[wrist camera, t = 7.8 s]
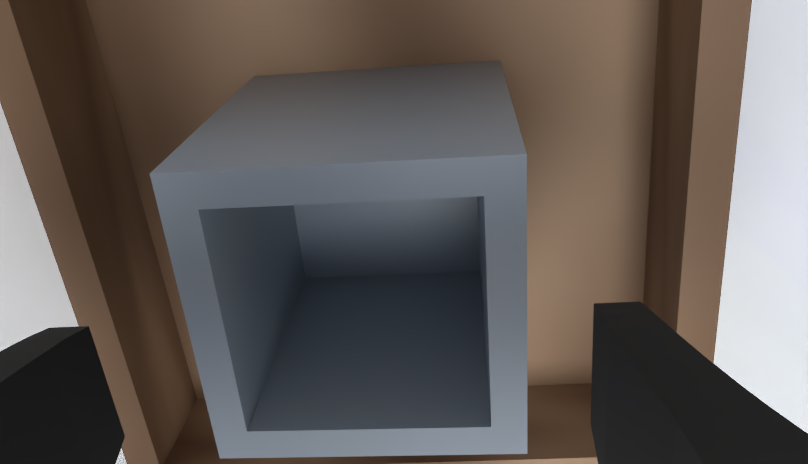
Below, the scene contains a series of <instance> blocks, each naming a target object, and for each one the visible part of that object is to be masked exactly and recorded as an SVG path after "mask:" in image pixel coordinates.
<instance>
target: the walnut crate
mask: <svg viewBox="0 0 808 464" xmlns="http://www.w3.org/2000/svg"><path fill="white" fill-rule="evenodd" d="M751 3H752V0H0V102H1V105H2V108H3V111H4V114H5V116H6V119H7V122H8V125H9V128H10V131H11V134H12V136H13V139H14V142H15V145H16V148H17V151H18V154H19V156H20V159H21V162H22V165H23V168H24V171H25V173H26V176H27V179H28V182H29V185H30V188H31V191H32V193H33V196H34V199H35V202H36V205H37V208H38V211H39V213H40V216H41V219H42V222H43V225H44V228H45V231H46V233H47V236H48V239H49V242H50V245H51V248H52V251H53V253H54V256H55V259H56V262H57V265H58V268H59V271H60V273H61V276H62V279H63V282H64V285H65V288H66V291H67V293H68V296H69V299H70V302H71V305H72V308H73V311H74V313H75V316H76V319H77V322H78V325H79V327H82V326H89V328H90V331H91V334H92V337H93V340H94V343H95V346H96V349H97V353H98V356H99V359H100V362H101V365H102V368H103V371H104V374H105V377H106V380H107V383H108V386H109V389H110V392H111V395H112V398H113V401H114V404H115V407H116V410H117V413H118V416H119V420H120V423H121V426H122V429H123V432H124V435H125V438H124V441H123V444H122V447H121V448H122V450H123V453H124V456H125V459H126V462H127V464H598V460H597V455H596V450H595V444H594V439H593V434H592V428H591V386H592V349H593V311H594V303H615V302H638V301H640V302H641V303H642V304H644V305H645V306H646V307H647V308H649V309H650V310H651V311H652V312H653V313H654V314H656V315H657V316H658V317H659V318H660V319H661V320H663V321H664V322H665V323H666V324H667V325H668V326H669V327H671V328H672V329H673V330H674V331H675V332H676V333H678V334H679V335H680V336H681V337H682V338H683V339H685V340H686V341H687V342H688V343H689V344H691V345H692V346H693V347H694V348H695V349H696V350H698V351H699V352H700V353H701V354H702V355H704V356H705V357H706V358H707V359H709V360H710V361H711V362H712V363H713V361H714V351H715V342H716V333H717V323H718V314H719V304H720V295H721V286H722V276H723V267H724V257H725V248H726V238H727V229H728V220H729V210H730V201H731V191H732V182H733V173H734V163H735V154H736V144H737V135H738V125H739V116H740V107H741V97H742V88H743V78H744V69H745V60H746V50H747V41H748V31H749V22H750V12H751ZM499 60H500V62H501V65H502V69H503V72H504V76H505V79H506V83H507V86H508V90H509V93H510V97H511V100H512V104H513V107H514V111H515V114H516V118H517V121H518V125H519V128H520V132H521V135H522V139H523V142H524V146H525V149H526V153H527V454H486V455H420V456H354V457H288V458H222V459H220V457H219V453H218V449H217V445H216V441H215V437H214V433H213V429H212V425H211V421H210V417H209V413H208V409H207V405H206V401H205V397H204V392H203V388H202V384H201V380H200V376H199V372H198V368H197V364H196V360H195V356H194V352H193V348H192V344H191V340H190V336H189V332H188V328H187V323H186V319H185V315H184V311H183V307H182V303H181V299H180V295H179V291H178V287H177V283H176V279H175V275H174V271H173V267H172V263H171V259H170V254H169V250H168V246H167V242H166V238H165V234H164V230H163V226H162V222H161V218H160V214H159V210H158V206H157V202H156V198H155V194H154V190H153V185H152V181H151V177H150V173H151V172H152V171H153V170H154V169H155V168H156V167H157V166H158V165H159V164H160V163H162V162H163V161H164V160H165V159H166V158H167V157H168V156H169V155H170V154H171V153H172V152H173V151H174V150H175V149H176V148H178V147H179V146H180V145H181V144H182V143H183V142H184V141H185V140H186V139H187V138H188V137H189V136H190V135H191V134H193V133H194V132H195V131H196V130H197V129H198V128H199V127H200V126H201V125H202V124H203V123H204V122H205V121H206V120H207V119H209V118H210V117H211V116H212V115H213V114H214V113H215V112H216V111H217V110H218V109H219V108H220V107H221V106H222V105H223V104H225V103H226V102H227V101H228V100H229V99H230V98H231V97H232V96H233V95H234V94H235V93H236V92H237V91H238V90H239V89H241V88H242V87H243V86H244V85H245V84H246V83H247V82H248V81H249V80H250V79H251V78H252V77H253V76H263V75H279V74H294V73H310V72H326V71H341V70H357V69H373V68H389V67H404V66H420V65H436V64H452V63H467V62H483V61H499Z"/></svg>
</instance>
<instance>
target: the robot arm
mask: <svg viewBox="0 0 808 464" xmlns="http://www.w3.org/2000/svg"><path fill="white" fill-rule="evenodd" d="M591 428H592V434H593V439H594V444H595V450H596V455H597V460H598V464H808V434H807V433H806V432H804V431H803V430H802V429H800V428H799V427H797V426H796V425H794V424H793V423H792V422H790V421H789V420H787V419H786V418H784V417H783V416H782V415H780V414H779V413H777V412H776V411H775V410H773V409H772V408H770V407H769V406H768V405H766V404H765V403H764V402H762V401H761V400H760V399H758V398H757V397H756V396H754V395H753V394H752V393H750V392H749V391H748V390H746V389H745V388H744V387H742V386H741V385H740V384H739V383H737V382H736V381H735V380H733V379H732V378H731V377H730V376H728V375H727V374H726V373H725V372H723V371H722V370H721V369H720V368H718V367H717V366H716V365H715V364H713V363H712V362H711V361H710V360H709V359H707V358H706V357H705V356H704V355H702V354H701V353H700V352H699V351H698V350H696V349H695V348H694V347H693V346H692V345H691V344H689V343H688V342H687V341H686V340H685V339H683V338H682V337H681V336H680V335H679V334H678V333H676V332H675V331H674V330H673V329H672V328H671V327H669V326H668V325H667V324H666V323H665V322H664V321H663V320H661V319H660V318H659V317H658V316H657V315H656V314H654V313H653V312H652V311H651V310H650V309H649V308H647V307H646V306H645V305H644V304H642V303H641V302H640V301H638V302H615V303H594V311H593V349H592V386H591ZM124 438H125V435H124V432H123V429H122V426H121V423H120V420H119V416H118V413H117V410H116V407H115V404H114V401H113V398H112V395H111V392H110V389H109V386H108V383H107V380H106V377H105V374H104V371H103V368H102V365H101V362H100V359H99V356H98V353H97V349H96V346H95V343H94V340H93V337H92V334H91V331H90V328H89V326H82V327H59V328H48V329H46V330H43V331H41V332H39V333H36V334H34V335H32V336H30V337H28V338H26V339H24V340H22V341H20V342H18V343H16V344H14V345H12V346H10V347H8V348H6V349H4V350H3V351H1V352H0V464H115V463H116V460H117V457H118V455H119V452H120V449H121V447H122V444H123V441H124Z"/></svg>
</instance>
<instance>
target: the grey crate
mask: <svg viewBox="0 0 808 464" xmlns="http://www.w3.org/2000/svg"><path fill="white" fill-rule="evenodd" d="M150 177H151V181H152V185H153V190H154V194H155V198H156V202H157V206H158V210H159V214H160V218H161V222H162V226H163V230H164V234H165V238H166V242H167V246H168V250H169V254H170V259H171V263H172V267H173V271H174V275H175V279H176V283H177V287H178V291H179V295H180V299H181V303H182V307H183V311H184V315H185V319H186V323H187V328H188V332H189V336H190V340H191V344H192V348H193V352H194V356H195V360H196V364H197V368H198V372H199V376H200V380H201V384H202V388H203V392H204V397H205V401H206V405H207V409H208V413H209V417H210V421H211V425H212V429H213V433H214V437H215V441H216V445H217V449H218V453H219V457H220V459H222V458H288V457H354V456H420V455H486V454H527V153H526V149H525V146H524V142H523V139H522V135H521V132H520V128H519V125H518V121H517V118H516V114H515V111H514V107H513V104H512V100H511V97H510V93H509V90H508V86H507V83H506V79H505V76H504V72H503V69H502V65H501V62H500V60H499V61H483V62H467V63H452V64H436V65H420V66H404V67H389V68H373V69H357V70H341V71H326V72H310V73H294V74H279V75H263V76H253V77H252V78H251V79H250V80H249V81H248V82H247V83H246V84H245V85H244V86H243V87H242V88H241V89H239V90H238V91H237V92H236V93H235V94H234V95H233V96H232V97H231V98H230V99H229V100H228V101H227V102H226V103H225V104H223V105H222V106H221V107H220V108H219V109H218V110H217V111H216V112H215V113H214V114H213V115H212V116H211V117H210V118H209V119H207V120H206V121H205V122H204V123H203V124H202V125H201V126H200V127H199V128H198V129H197V130H196V131H195V132H194V133H193V134H191V135H190V136H189V137H188V138H187V139H186V140H185V141H184V142H183V143H182V144H181V145H180V146H179V147H178V148H176V149H175V150H174V151H173V152H172V153H171V154H170V155H169V156H168V157H167V158H166V159H165V160H164V161H163V162H162V163H160V164H159V165H158V166H157V167H156V168H155V169H154V170H153V171H152V172H151V173H150Z"/></svg>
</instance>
